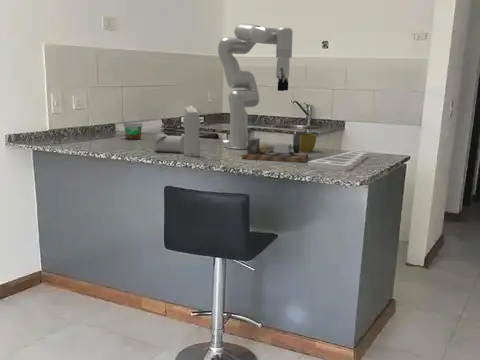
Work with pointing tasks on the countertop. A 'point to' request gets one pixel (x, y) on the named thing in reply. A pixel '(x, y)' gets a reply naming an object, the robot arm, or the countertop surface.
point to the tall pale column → (191, 134)
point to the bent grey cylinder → (168, 143)
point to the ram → (289, 145)
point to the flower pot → (307, 142)
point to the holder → (339, 161)
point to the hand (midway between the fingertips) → (282, 90)
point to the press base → (270, 154)
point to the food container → (133, 131)
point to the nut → (262, 149)
